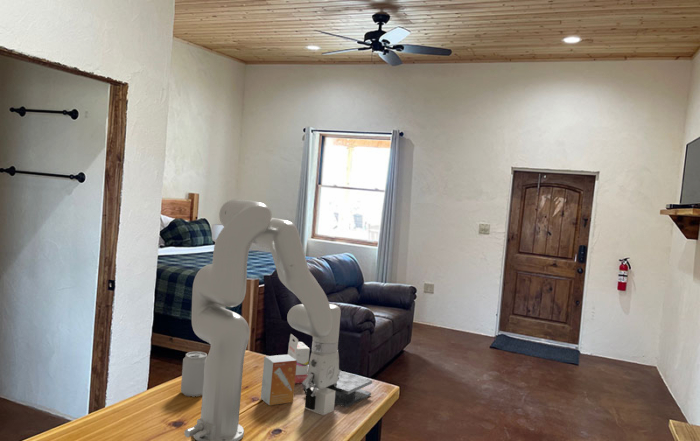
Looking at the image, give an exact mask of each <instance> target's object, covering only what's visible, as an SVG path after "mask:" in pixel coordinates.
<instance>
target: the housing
mask: <svg viewBox="0 0 700 441" xmlns="http://www.w3.org/2000/svg"><path fill="white" fill-rule="evenodd" d="M313 389H314V388H313V387H311V390H312V391H313ZM335 392H336V391H335V390H332V389H329V388H323V389H317V391H316V393H315V395H314V396H316V401H315V409H314V410H311V409H309V408H306V407H305V406H304V409H306V410H309V411H311V412H314V413H317V414H320V415H322V416H325V415H328V414H329V413H331V412H334V411H335Z"/></svg>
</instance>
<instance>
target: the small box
mask: <svg viewBox="0 0 700 441" xmlns="http://www.w3.org/2000/svg"><path fill="white" fill-rule="evenodd" d="M296 365H297V360H296V359H294V358H293V357H291V356H290V355H288V353H287V354H278V355H277V354H276V355H265V356H264V358H263V369H262V380H261V390H260V392H261V393H260V399H261V400H263V402H265V403H266V404H267V405H268V406H275V405H279V404H280V405H282V404H289V403H290V404H291V403H293V402H294V395H295V385H296V383H295V375H296Z"/></svg>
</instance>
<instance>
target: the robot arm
mask: <svg viewBox="0 0 700 441" xmlns="http://www.w3.org/2000/svg"><path fill="white" fill-rule="evenodd" d="M218 214H219V217H218V218H219V220H220V223H221V225H222V226H223V228H222V229H221V231H220V232H219V234H218V235H217V237H216V239H215V242H214V246H213V254H212V261H211V262H212V263H210V264H207V265H204V266H202V267H201V268H200V269H199V270H198V272H197V273H196V275H195V277H194V279H193V283H192V292H191V294H192V295H191V327H192V330H193V332H194V334H195V335H196V336H197V337H198V338H199V339H200V340H202V341H204V342H206V343H208V344H209V345H210V348H209V352H208V354H207V358H206V361H205V367H204V381H203V394H202V395H201V406H200V407H201V408H200V418H198V419H196V424H195V425H194V426H192V427H189V428H186V429H184V432H183V433H184V436H185V438H190V437H191V438H192V437H193V438H194V440H196V441H240V440H242V438H243V437H244V436H245V430H244V429H245V428H244V427H243V426H242V425H241V424H239V422H240V412H241V409H240V408H241V397H242V384H243V373H244V371H243V370H244V364H245V363H244V361H245V357H246V356H245V355H246V350H247V346H248V343H249V339H250V333H251V332H250V326H249V323H248V322H247V320H246V319H245V318H244V317H243V316H242V315H241V314H239V313H237V312H235V311H232V310H230V309H227V308H234V307H235V308H236V307H237V306H239V305H240V304H242V302H243V301H244V300H245V296H246V293H247V278H248V277H247V275H248V260H249V259H248V258H249V252H250V248H251V246H252V244H255V245H257V246H259V247H262V248H265V249H269V250H270V253H271V256H272V260H273V262H274V267H275V269H276V273H277V278H278V279H279V281H280V282H281V283H282V284H283V285H284V286H285V288H287V289H288V290H289V291H290V292H291V293H293V294H294V295H295V296H296V298H298V300H299V301H300V302H301V303H299V304H296V305H294V306H291V308H290V309H289V311H288V313H287V317H286V319H287V323H288V324H289V326H290V327H291V328H292V329H294V330H296V331H298V332H301V333H304V334H306V335H309V336H311V337H312V343H311V353H310V355H309V362H308V374H307V378H306V379H305V380H304V381H303V383H301V385H302V389H303V392H304V395H305V401H304V402H305V403H304V408H305V407H306V408H309V409H311V410H314V409H315V401H316V396H314V395H315V393H316V391H317V389H323V388H329V389H332V390H335V387H336V386H337V381H338V379H339V377H338V376H339V375H340V372H341V371H342V370H341V369H340V356H339V355H340V354H339V336H340V325H341V312H342V311H341V307H340V306H339V305H336V304H334V303H330V302H329V298H328V297H327V294H326V293H325V291H324V289H323V288H322V286H321V285H320V283H318V280H317V279H316V277H314V275H313V274H312V272H311V271H310V268H309V266H308V261H307V258H306V255H305V252H304V247H303V243H302V240H301V236H300V233H299V230H298V228H297V226H296V224H295V223H293V222H292V221H289V220H287V219H281V218H276V217H273V216H272V211H271V209H270V208H269V206H268V205H266V204H265V203H263V202H259V201H256V200H255V201H254V200H246V199H238V198H237V199H230V200H227V201H226V202H225V203H223V204H222V206H221V207H220V209H219V213H218ZM311 387H313V388H314V389H313V391H312V390H311ZM311 410H310V411H311Z"/></svg>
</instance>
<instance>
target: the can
mask: <svg viewBox="0 0 700 441" xmlns="http://www.w3.org/2000/svg"><path fill="white" fill-rule="evenodd" d="M207 355H208V354H207V353H206V352H203V351H189V352H187V353H185V357H184V358H183V359H182V368H181V369H182V370H181V384H180V392H181V393H182V394H183V395H184V396H186V397H190V396H192V398H196V397H200V396H201V397H202V394H203V381H204V367H205V361H206V358H207ZM195 396H196V397H195Z"/></svg>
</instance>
